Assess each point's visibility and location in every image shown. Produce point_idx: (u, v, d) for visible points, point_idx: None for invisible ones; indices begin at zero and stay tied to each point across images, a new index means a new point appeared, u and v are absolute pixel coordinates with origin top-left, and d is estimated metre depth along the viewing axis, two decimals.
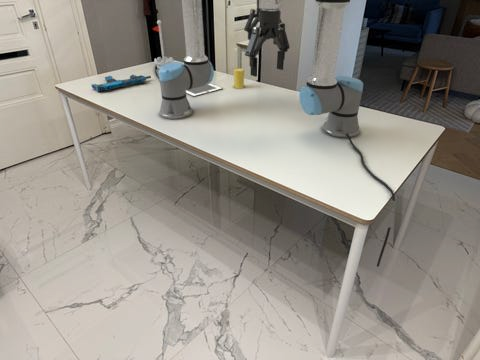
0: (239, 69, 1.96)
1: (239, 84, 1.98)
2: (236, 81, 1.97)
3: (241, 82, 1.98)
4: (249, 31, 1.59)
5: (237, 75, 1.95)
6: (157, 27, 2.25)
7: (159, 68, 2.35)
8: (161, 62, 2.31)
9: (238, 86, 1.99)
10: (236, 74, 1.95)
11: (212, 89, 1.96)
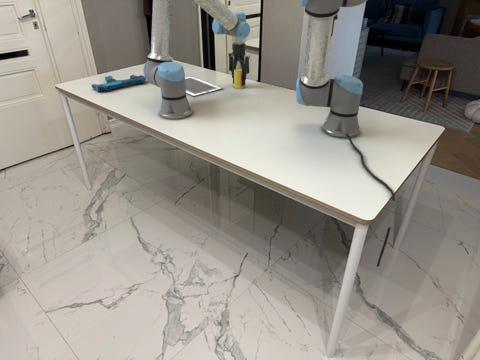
0: (239, 69, 1.96)
1: (239, 84, 1.98)
2: (236, 81, 1.97)
3: (241, 82, 1.98)
4: None
5: (237, 75, 1.95)
6: None
7: None
8: None
9: (238, 86, 1.99)
10: (236, 74, 1.95)
11: (212, 89, 1.96)
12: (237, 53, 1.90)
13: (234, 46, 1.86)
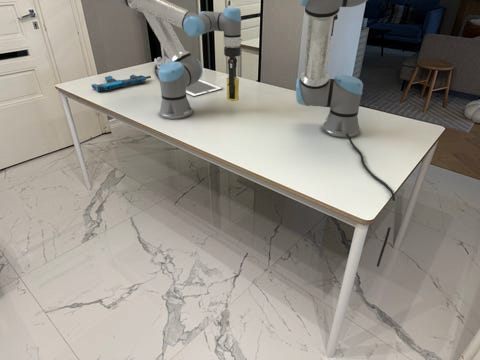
0: None
1: (228, 95, 1.63)
2: None
3: None
4: None
5: (227, 84, 1.61)
6: None
7: None
8: (161, 62, 2.31)
9: (227, 97, 1.64)
10: None
11: (212, 89, 1.96)
12: None
13: None
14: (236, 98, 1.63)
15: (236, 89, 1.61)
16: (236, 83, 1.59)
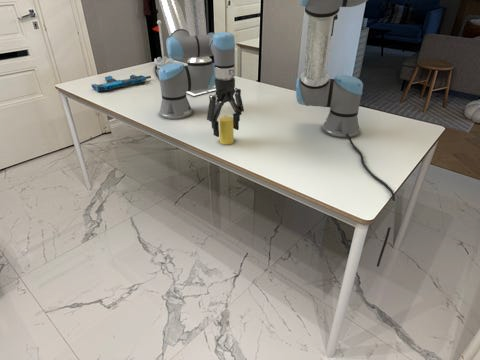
0: (226, 119, 1.35)
1: None
2: None
3: (220, 135, 1.39)
4: None
5: None
6: (157, 27, 2.25)
7: (159, 68, 2.35)
8: (161, 62, 2.31)
9: None
10: None
11: (212, 89, 1.96)
12: None
13: None
14: (225, 142, 1.38)
15: (225, 132, 1.36)
16: (225, 125, 1.34)
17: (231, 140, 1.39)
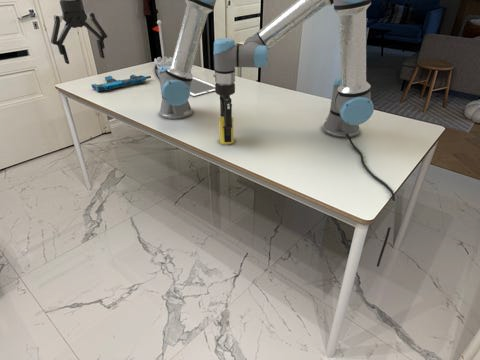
0: None
1: None
2: None
3: (220, 135, 1.39)
4: None
5: None
6: (157, 27, 2.25)
7: None
8: (161, 62, 2.31)
9: None
10: None
11: (212, 89, 1.96)
12: None
13: None
14: None
15: None
16: None
17: (231, 140, 1.39)
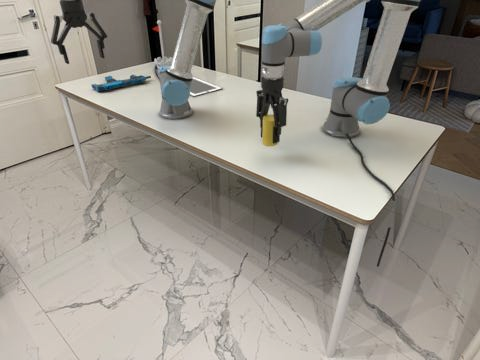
0: (272, 117, 1.21)
1: (263, 138, 1.24)
2: None
3: (265, 137, 1.23)
4: None
5: None
6: (157, 27, 2.25)
7: None
8: (161, 62, 2.31)
9: (262, 140, 1.25)
10: None
11: (212, 89, 1.96)
12: None
13: None
14: None
15: None
16: (274, 124, 1.20)
17: None
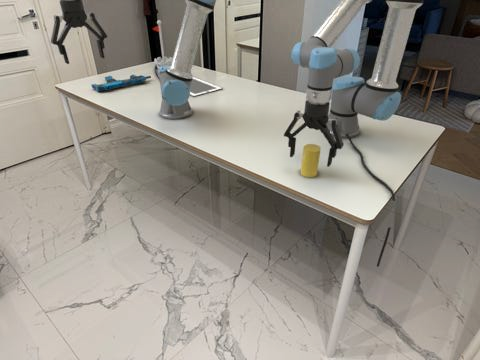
0: (313, 147, 1.15)
1: (304, 170, 1.17)
2: None
3: (307, 168, 1.16)
4: None
5: (303, 155, 1.15)
6: (157, 27, 2.25)
7: None
8: (161, 62, 2.31)
9: (302, 172, 1.19)
10: (303, 153, 1.16)
11: (212, 89, 1.96)
12: None
13: None
14: (315, 173, 1.18)
15: (317, 162, 1.15)
16: (318, 154, 1.14)
17: None
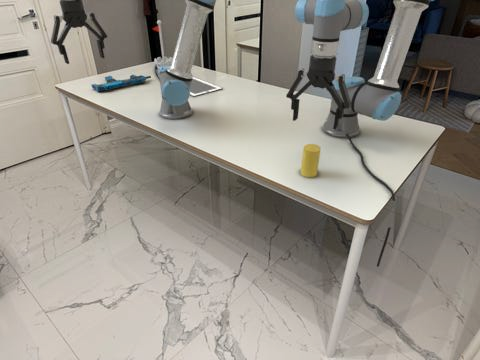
0: (313, 147, 1.15)
1: (304, 170, 1.17)
2: None
3: (307, 168, 1.16)
4: None
5: (303, 155, 1.15)
6: (157, 27, 2.25)
7: None
8: (161, 62, 2.31)
9: (302, 172, 1.19)
10: (303, 153, 1.16)
11: (212, 89, 1.96)
12: None
13: None
14: (315, 173, 1.18)
15: (317, 162, 1.15)
16: (318, 154, 1.14)
17: None
